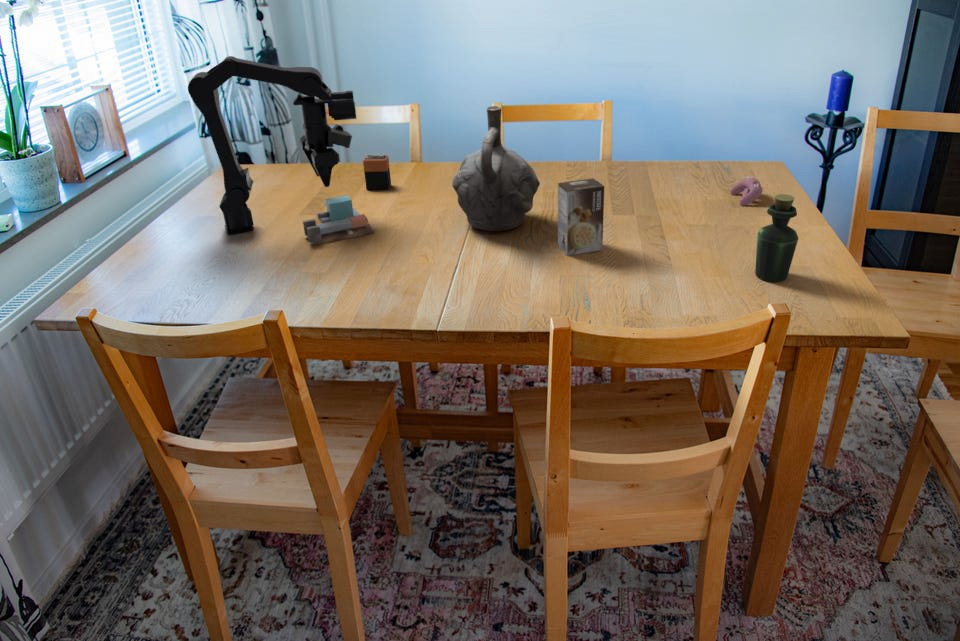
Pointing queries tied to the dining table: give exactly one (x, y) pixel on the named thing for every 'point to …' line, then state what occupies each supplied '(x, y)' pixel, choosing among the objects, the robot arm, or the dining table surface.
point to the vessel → (495, 182)
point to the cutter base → (318, 238)
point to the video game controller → (747, 190)
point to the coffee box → (580, 216)
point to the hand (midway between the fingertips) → (323, 181)
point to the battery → (377, 172)
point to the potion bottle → (776, 241)
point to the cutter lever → (343, 224)
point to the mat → (325, 220)
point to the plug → (337, 208)
